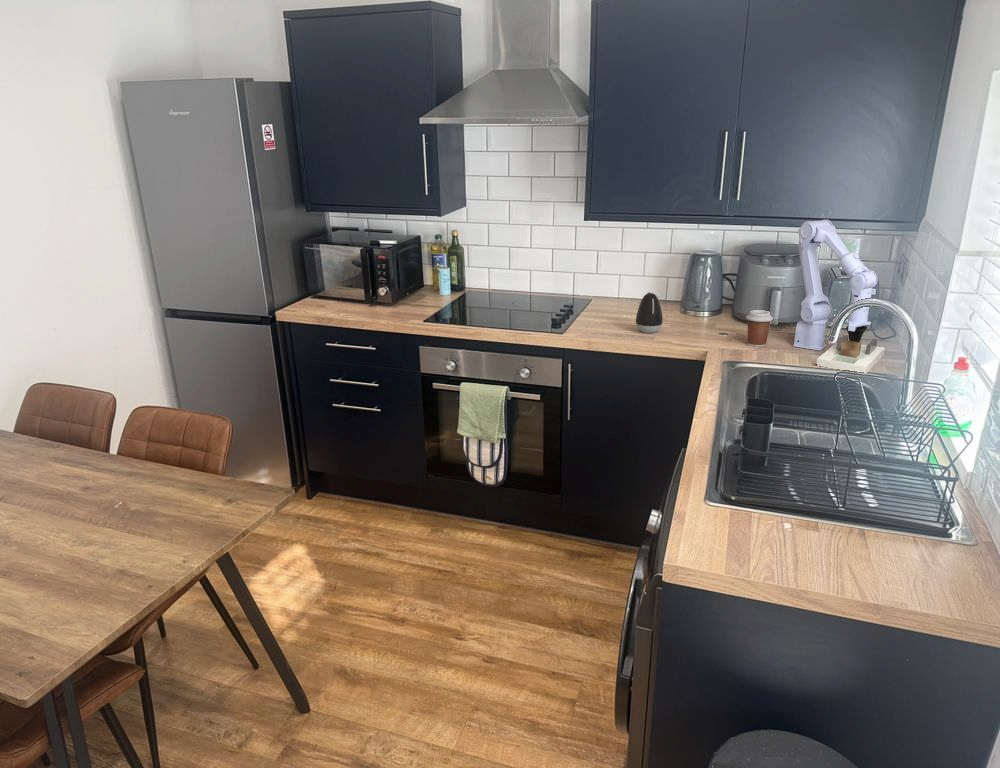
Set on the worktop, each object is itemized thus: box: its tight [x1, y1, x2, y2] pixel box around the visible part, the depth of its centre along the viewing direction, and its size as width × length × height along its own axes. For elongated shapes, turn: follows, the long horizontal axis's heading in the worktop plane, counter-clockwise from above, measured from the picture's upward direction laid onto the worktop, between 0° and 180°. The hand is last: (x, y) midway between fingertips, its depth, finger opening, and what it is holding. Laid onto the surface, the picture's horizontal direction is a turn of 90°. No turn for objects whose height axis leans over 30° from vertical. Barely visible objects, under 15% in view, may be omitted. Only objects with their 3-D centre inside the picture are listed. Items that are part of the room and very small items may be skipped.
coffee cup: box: [745, 309, 774, 348], centre depth 264 cm, size 9×9×12 cm
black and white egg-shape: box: [635, 292, 664, 334], centre depth 282 cm, size 10×10×15 cm
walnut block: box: [840, 340, 862, 358], centre depth 243 cm, size 5×5×4 cm
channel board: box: [815, 341, 886, 374], centre depth 246 cm, size 15×26×2 cm, turn 142°
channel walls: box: [836, 334, 878, 355], centre depth 249 cm, size 10×10×3 cm
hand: (853, 347), depth 246 cm, fingers closed
